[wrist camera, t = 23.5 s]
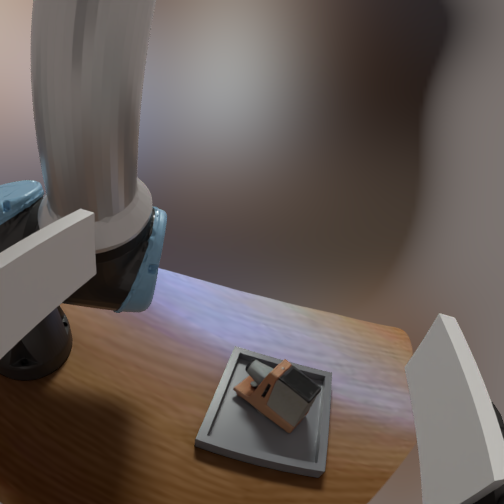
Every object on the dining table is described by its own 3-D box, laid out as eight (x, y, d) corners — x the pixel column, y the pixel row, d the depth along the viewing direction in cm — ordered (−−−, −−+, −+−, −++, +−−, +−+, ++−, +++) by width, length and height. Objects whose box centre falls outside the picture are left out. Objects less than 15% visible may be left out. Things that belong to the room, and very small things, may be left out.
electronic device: (251, 376, 41) (263, 339, 38) (307, 415, 36) (328, 380, 33) (230, 393, 38) (241, 355, 34) (289, 435, 33) (310, 403, 30)
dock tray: (194, 446, 30) (195, 438, 29) (232, 355, 45) (235, 346, 44) (318, 477, 28) (324, 471, 27) (327, 381, 43) (331, 372, 43)
